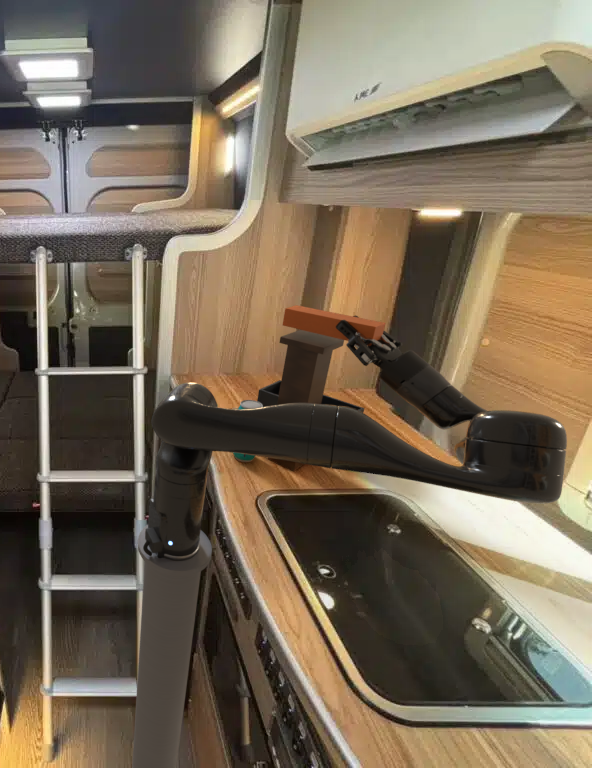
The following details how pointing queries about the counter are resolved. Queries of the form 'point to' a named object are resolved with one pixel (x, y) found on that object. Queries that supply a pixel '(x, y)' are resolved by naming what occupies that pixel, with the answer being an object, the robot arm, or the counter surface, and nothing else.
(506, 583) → the counter surface
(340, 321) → the robot arm
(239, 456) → the beverage can
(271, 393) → the black storage bin
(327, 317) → the orange rectangular bar
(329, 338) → the pedestal
